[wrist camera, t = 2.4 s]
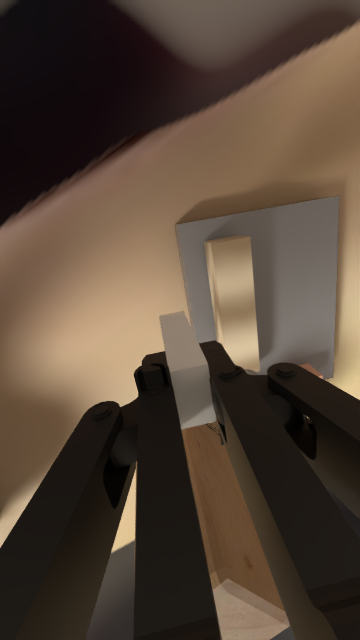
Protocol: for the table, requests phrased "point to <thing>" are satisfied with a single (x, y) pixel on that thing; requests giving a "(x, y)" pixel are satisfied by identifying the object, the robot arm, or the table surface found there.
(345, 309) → the table surface
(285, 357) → the stool seat
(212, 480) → the wooden block
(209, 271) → the folding leg
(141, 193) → the table surface
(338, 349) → the table surface
